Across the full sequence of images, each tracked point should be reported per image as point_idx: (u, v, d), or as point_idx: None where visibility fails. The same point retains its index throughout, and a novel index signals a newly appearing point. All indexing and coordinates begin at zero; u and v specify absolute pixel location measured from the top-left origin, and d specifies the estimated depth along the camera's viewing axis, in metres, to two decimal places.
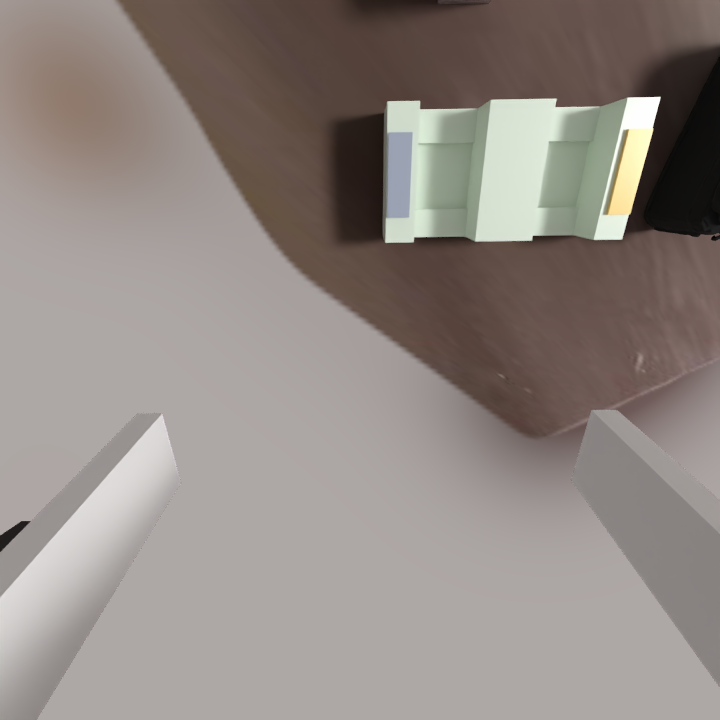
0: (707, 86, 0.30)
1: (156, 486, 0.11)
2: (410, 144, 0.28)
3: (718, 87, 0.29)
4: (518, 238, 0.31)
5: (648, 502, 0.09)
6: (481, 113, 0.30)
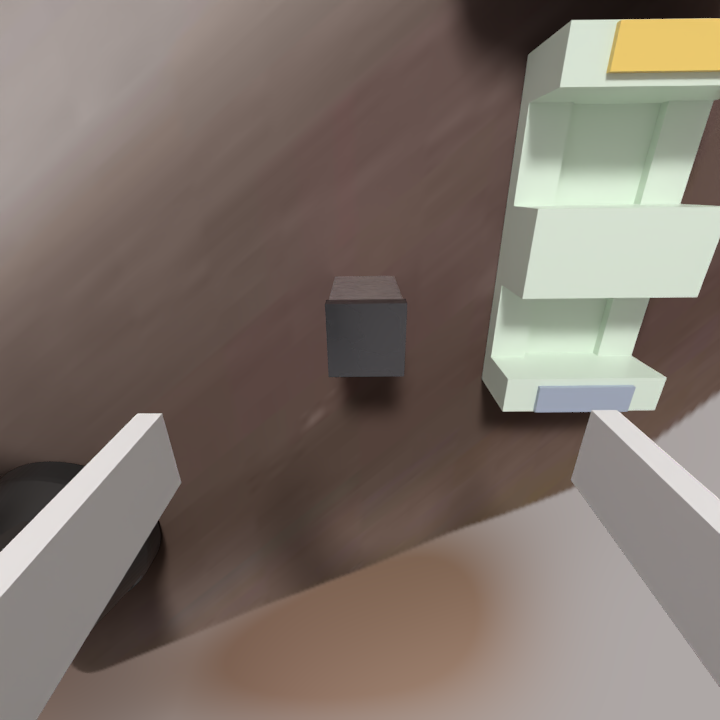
0: None
1: (156, 486, 0.11)
2: (552, 389, 0.24)
3: None
4: (718, 230, 0.20)
5: (648, 501, 0.09)
6: None
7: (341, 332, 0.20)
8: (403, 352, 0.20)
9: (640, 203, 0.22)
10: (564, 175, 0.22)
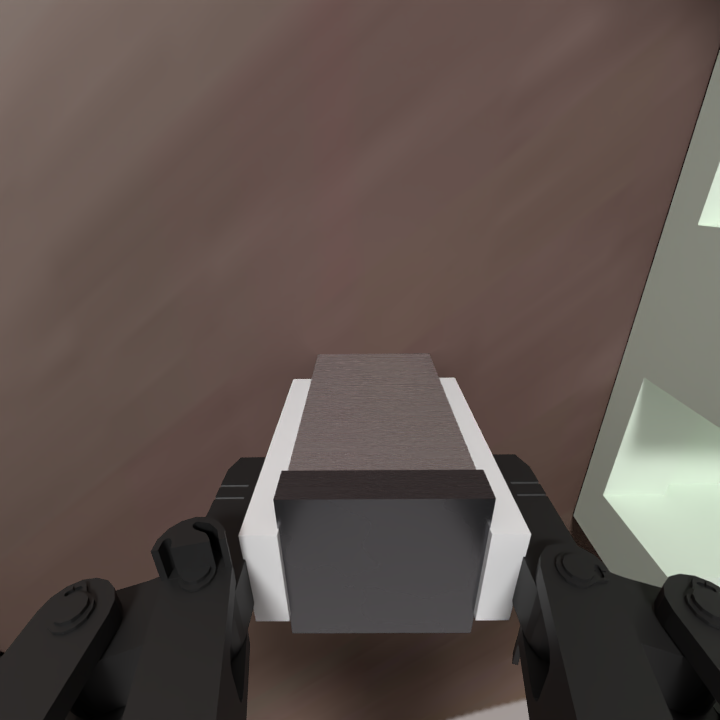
0: None
1: None
2: None
3: None
4: None
5: None
6: None
7: (319, 555, 0.08)
8: (474, 593, 0.08)
9: None
10: None
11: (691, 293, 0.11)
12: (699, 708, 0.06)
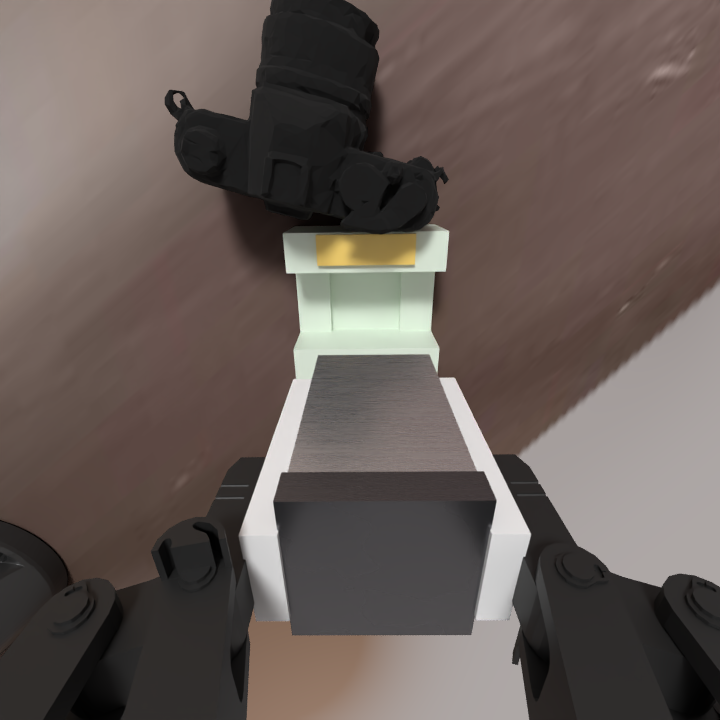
0: None
1: None
2: None
3: None
4: (435, 363, 0.26)
5: None
6: None
7: (319, 557, 0.08)
8: (474, 595, 0.08)
9: (399, 330, 0.29)
10: (339, 309, 0.29)
11: None
12: (699, 708, 0.06)
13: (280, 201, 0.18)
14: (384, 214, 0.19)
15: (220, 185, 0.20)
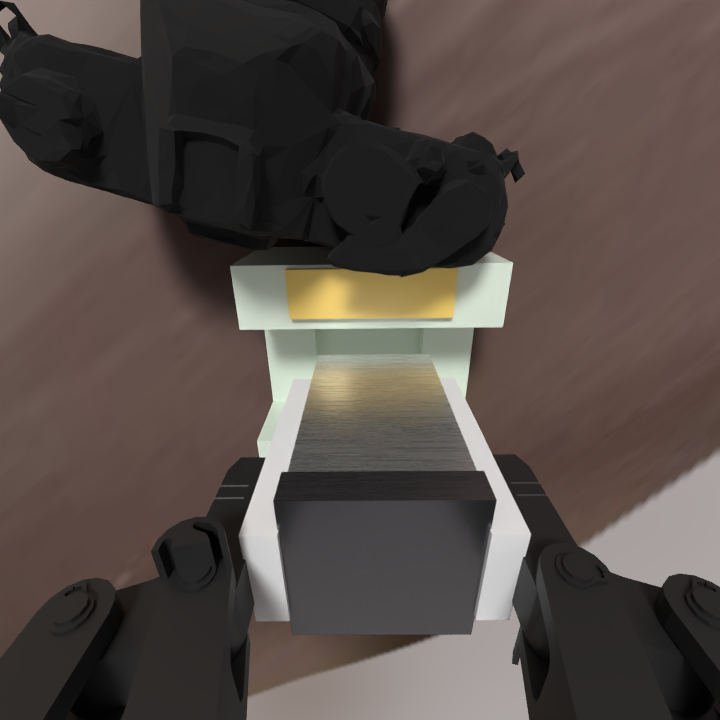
0: None
1: None
2: None
3: None
4: None
5: None
6: None
7: (319, 557, 0.08)
8: (474, 594, 0.08)
9: None
10: None
11: None
12: (699, 708, 0.06)
13: (203, 220, 0.09)
14: (409, 241, 0.10)
15: (101, 188, 0.10)
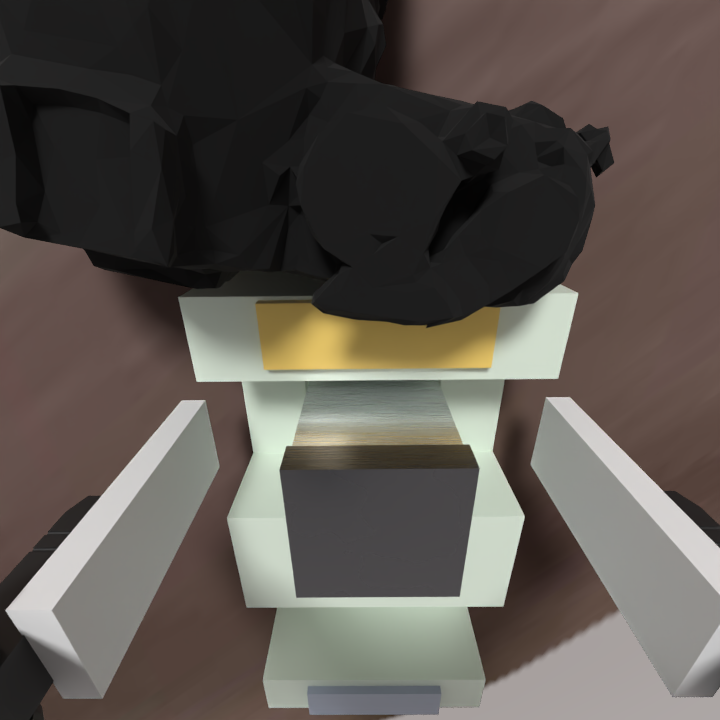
0: None
1: (201, 468, 0.12)
2: (325, 696, 0.17)
3: None
4: (513, 541, 0.13)
5: (588, 480, 0.10)
6: None
7: (321, 523, 0.08)
8: (462, 558, 0.09)
9: None
10: None
11: None
12: None
13: (92, 249, 0.05)
14: (442, 274, 0.06)
15: None
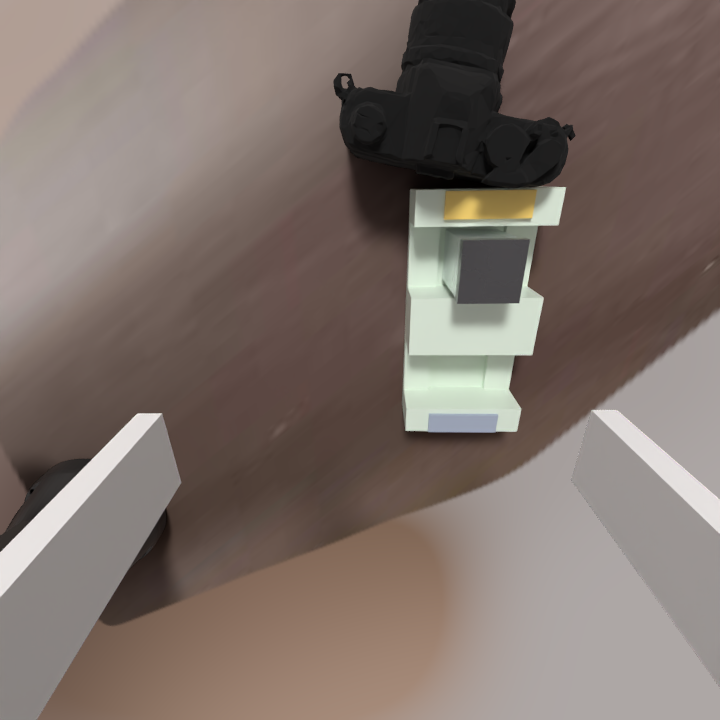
0: None
1: (156, 486, 0.11)
2: (438, 416, 0.33)
3: (391, 164, 0.27)
4: (538, 312, 0.29)
5: (648, 501, 0.09)
6: None
7: (473, 264, 0.24)
8: (521, 282, 0.25)
9: None
10: None
11: (407, 309, 0.32)
12: None
13: (438, 161, 0.21)
14: (523, 169, 0.22)
15: (377, 153, 0.23)
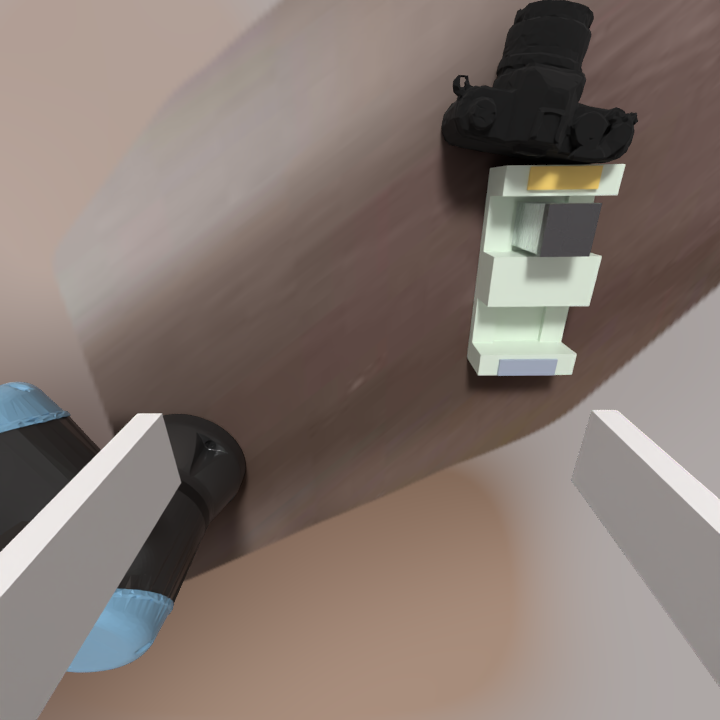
0: (474, 149, 0.35)
1: (156, 486, 0.11)
2: (507, 361, 0.39)
3: (481, 149, 0.34)
4: (596, 268, 0.35)
5: (648, 502, 0.09)
6: None
7: (555, 224, 0.31)
8: (592, 238, 0.31)
9: None
10: None
11: (482, 270, 0.38)
12: None
13: (539, 141, 0.28)
14: (601, 147, 0.29)
15: (485, 137, 0.29)
